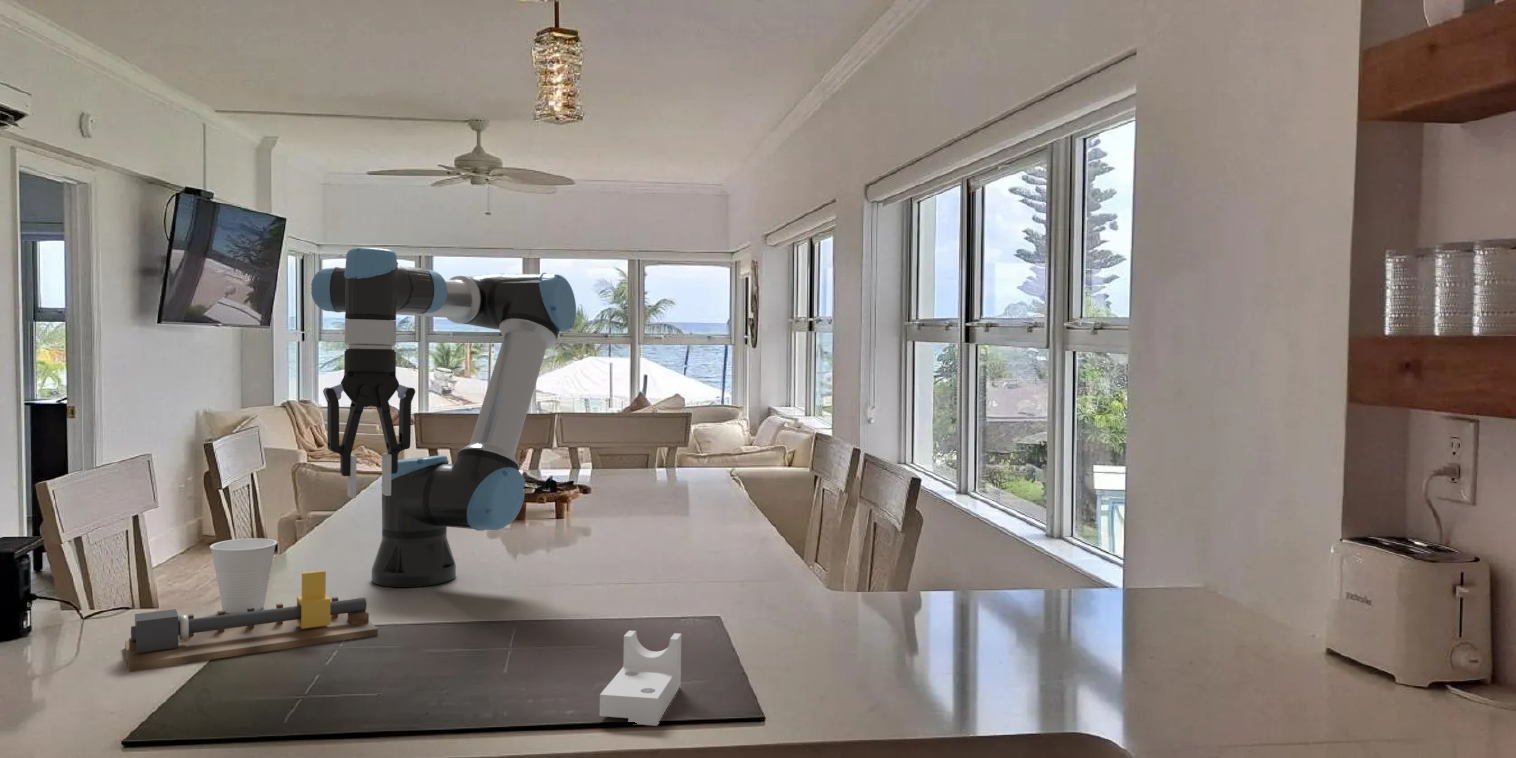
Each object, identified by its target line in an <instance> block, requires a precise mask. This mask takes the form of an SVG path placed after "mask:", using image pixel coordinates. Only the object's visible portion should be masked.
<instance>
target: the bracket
mask: <svg viewBox="0 0 1516 758" xmlns="http://www.w3.org/2000/svg"><path fill="white" fill-rule="evenodd" d="M622 657H623V661H622V662H623V666H622V668H621V669H619V671H618V673H616V675H615V676H613V678H612V680H611V681H609V683H608V684H607V686H606V687H605V688H604V689H603V690H602V691H601V693H600V694H599V717H607V718H608V717H609V718H622V719H623V718H624V719H628V721H627V723H628V722H635V723H637V724H636V725H641V726H643V725H644V726H656V727H657V726H658V725H659V724H660V722H661V721H660V719H661V717H662V715H663V714H664V712H665V711H666V709H667V707H668V705H669V703H670V702H671V700H672V698H673V696H674V694H676V692H677V690H678V688H679V686H680V687H681V686H682V685H681V684H682V683H681V682H682V681H681V680H682V677H681V673H682V672H681V671H682V633H678V632H677V633H676V632H674V633H673V635H671V637H670V639H669V644H668V646H667V648H665V649H663V650H658V651H657V650H656V651H654V650H649V649H647V648H646V647H644V646H643V645H642V644H641V643H640V641H639V639H638V635H637V630H628V631H627V632H626V633H625V634H624V635H623V656H622ZM667 710H668V709H667ZM666 712H667V711H666ZM666 712H665V713H666ZM664 715H665V714H664ZM662 718H663V717H662ZM661 720H662V719H661ZM659 721H660V722H659Z"/></svg>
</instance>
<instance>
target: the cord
mask: <svg viewBox="0 0 1516 758" xmlns="http://www.w3.org/2000/svg"><path fill="white" fill-rule="evenodd" d="M365 610H366V611H367V599H366V597H361V598H360V597H359V598H351V599H343V600H338V601H334V602H332V601H330V615H336V614H343V613H351V612H359V611H365ZM297 619H301V606H297V605H294V606H288V607H283V608H277V609H276V608H270V609H261V610H259V611H253V612H245V613H237V614H229V613H228V614H224V615H220V616H218V615H213V616H206V617H204V616H203V617H198V618H194V619H188V620H189V634H190V633H198V632H205V631H213V630H221V629H228V628H236V627H244V626H251V625H259V624H267V623H274V622H282V621H290V620H297ZM178 635H180V621H179V631H178ZM130 638H131V641H136V626H135V625H134V626H133V625H132V626H131V627H130Z"/></svg>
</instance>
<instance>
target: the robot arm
mask: <svg viewBox="0 0 1516 758" xmlns="http://www.w3.org/2000/svg"><path fill="white" fill-rule="evenodd" d="M310 285H311V290H310V291H311V297H312V300H313V302H314V304H315V305H316V306H317V308H319V309H321V310H322V311H325V312H331V313H332V312H333V313H345V314H344V319H345V320H344V344H345V345H346V346H348V348H346V349H345V350H344V356H343V357H344V359H343V360H344V363H343V364H344V365H343V366H344V368H343V369H344V370H343V371H344V372H343V373H344V374H343V378H342V379H341V381H340V384H337V385H335V386H334V385H333V386H332V387H331V386H330V387H325V388H324V389H323V390H322V391H323V396H324V399H325V400H326V403H327V404H326V405H327V406H326V407H327V408H326V409H327V411H326V412H327V418H326V421H327V429H326V430H327V433H326V434H327V449H328V450H329V451H331V452H333V453H336V454H339V456H340V458H339V459H340V460H339V461H340V463H339V465H340V466H339V468H340V469H339V470H340V471H339V473H340V474H341V476H342V477H346V480H347V481H346V497H348V498H350V499H357V458H358V457H357V455H355V454H353V453H352V452H353V450H354V449H353V447H354V444H355V440H356V436H357V433H358V428H359V424H360V421H361V417H362V414H363V412H364V409H365V408H368V407H371V406H372V407H374V408H376V410H377V414H378V417H379V421H380V425H381V429H382V434H383V439H384V443H385V447H386V451H387V452H381V453H382V454H381V484H380V485H381V528H382V529H381V542H380V544H379V547H378V549H377V553H376V556H375V559H374V562H373V565H372V567H371V582H372V583H373V584H375V585H378V586H382V587H392V588H394V587H395V588H412V587H413V588H416V587H417V588H418V587H427V586H432V585H438V584H443V583H446V582H449V581H451V580H452V581H453V579H454V578H456V577H457V574H456V573H457V571H456V570H457V569H456V568H457V564H456V561H455V559H454V556H453V552H452V549H451V545H450V543H449V540H448V536H447V535H448V534H447V533H448V532H447V531H448V529H447V528H448V527H450V528H459V529H467V530H468V529H469V530H475V531H481V532H483V531H498V530H502V529H504V528H506V527H508V526H509V525H510V524H511V523H512V522H514V520H515V519H516V518H517V516H518V515H519V513H520V511H521V509H522V506H523V504H524V501H525V494H526V490H525V489H524V488H525V487H526V484H525V482H526V481H525V479H524V476H523V474H522V473H521V471H520V464H519V462H518V461H517V458H515V455H516V453H517V452H516V451H517V449H518V445H519V442H520V439H521V435H522V431H523V429H524V424H525V421H526V418H527V414H528V411H529V409H530V408H529V407H530V404H531V402H532V398H533V395H534V391H535V388H536V385H537V381H538V378H539V375H540V371H541V369H542V368H541V367H542V364H543V362H544V361H543V360H544V358H545V354H546V351H547V350H548V349H550V348H553V347H554V346H555V345H556V343H557V340H558V337H559V334H560V332H561V333H564V332H567V331H569V330H571V329H572V328H573V327H574V324H575V321H576V317H577V303H576V298H575V294H574V290H573V288H572V286H571V284H570V283H569V281H568V280H567V278H565V277H564V276H562V274H561V275H560V274H557V273H546V272H541V273H494V274H493V273H492V274H483V275H482V274H481V275H474V276H473V275H472V276H470V275H469V276H467V275H466V276H464V275H456V276H453V277H450V278H447V279H446V278H444V277H443V276H442V274H440V273H439V272H437V271H435V270H432V269H428V268H426V267H421V268H420V267H414V266H413V267H412V266H406V265H399V263H398V256H397V253H396V252H395V251H394V250H390V249H387V248H377V247H355V248H351V249H349V250H348V251H347V252H346V256H345V265H344V267H339V266H335V267H329V268H322V269H321V270H318V272H316V274H314V276H313V278H312V281H311V284H310ZM397 315H398V316H399V315H401V316H414V317H415V316H416V317H418V316H419V317H429V318H430V317H431V318H433V317H434V318H446V319H447V320H448V321H449V322H451V323H454V324H461V325H462V324H463V325H469V326H474V327H475V326H476V327H480V328H486V329H492V330H499V332H500V333H501V335H502V336H503V338H502V341H501V346H500V348H499V351H498V354H497V358H496V360H495V364H494V367H493V369H492V374H491V376H490V379H489V383H488V386H487V389H486V391H485V395H484V397H483V401H482V405H481V408H480V411H479V414H478V417H477V421H476V424H475V425H474V430H473V432H472V436H471V438H470V442H469V444H468V445H466V446H464V447H462V448H460V449H459V450H458V452H457V455H456V458H455V462H454V463H453V464H452V463H451V464H449V460H448V457H447V456H446V455H442V454H441V455H432V456H431V455H430V456H422V457H412V458H404V459H399V453H400V452H402V451H405V450H408V449H410V447H411V433H412V431H411V429H412V427H411V425H412V402H413V399H414V396H415V394H416V389H415V388H414V387H408V386H405V385H402V384H400V382H399V380H398V379H397V374H396V373H397V371H396V370H397V368H396V367H397V353H396V352H397V351H396V350H395V349H393V346H394V347H395V346H396V345H397ZM342 392H344V393H345V395H346V396H347V397H348V398H349V400H350V401H351V403H350V406H349V413H348V417H347V420H346V425H345V428H344V433H343V437H342V440H341V445H340V402H339V400H341V398H342ZM396 392H397V397H398V398H399V403H398V404H399V405H398V407H399V408H398V411H399V412H398V441H397V438H396V432H395V428H394V423H393V419H392V413H391V407H390V403H389V402H390V399H391V398H392V397H393V395H394V394H395V393H396Z"/></svg>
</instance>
